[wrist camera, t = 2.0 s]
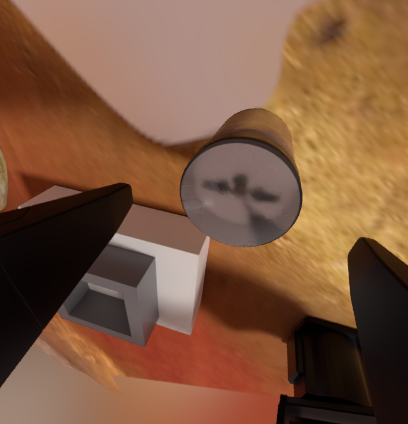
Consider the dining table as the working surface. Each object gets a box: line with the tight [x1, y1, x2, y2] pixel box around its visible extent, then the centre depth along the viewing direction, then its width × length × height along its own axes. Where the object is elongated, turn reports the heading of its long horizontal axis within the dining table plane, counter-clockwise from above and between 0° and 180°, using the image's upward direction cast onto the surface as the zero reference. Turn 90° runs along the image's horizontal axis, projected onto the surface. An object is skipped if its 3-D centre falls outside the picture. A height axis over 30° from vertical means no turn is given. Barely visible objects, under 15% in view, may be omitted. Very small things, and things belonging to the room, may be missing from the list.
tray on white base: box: [18, 185, 210, 347], centre depth 22 cm, size 16×12×7 cm
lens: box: [180, 108, 302, 247], centre depth 12 cm, size 5×5×7 cm
